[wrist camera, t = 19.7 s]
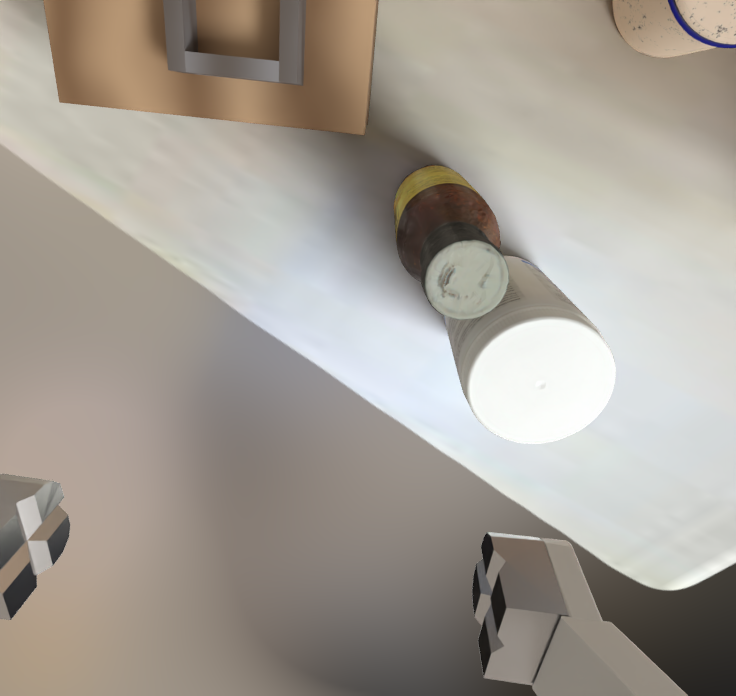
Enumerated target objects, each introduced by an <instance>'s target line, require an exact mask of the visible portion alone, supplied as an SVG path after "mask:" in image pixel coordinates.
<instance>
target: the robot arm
mask: <svg viewBox="0 0 736 696" xmlns="http://www.w3.org/2000/svg"><path fill="white" fill-rule="evenodd" d="M63 498H64V495H63V491H62V488H61V485H60V483H57V482H54V481H49V480H42V479H35V478H29V477H22V476H15V475H8V474H0V619H6V620H11V619H12V618H13V617H14V615H15V614H16V613H17V611H18V610H19V609H20V608H21V606H22V605H23V604H24V602H25V601H26V600H27V599H28V597H29V596H30V595H31V593H32V592H33V591H34V590H35V588H36V587H37V575H38V574H39V573H41V572H43V571H45V570H46V569H48V568H50V567H52V566H53V565H54V564H55V562H56V561H57V560H58V558H59V557H60V556H61V554H62V552H63V550H64V548H65V546H66V543H67V541H68V538H69V531H70V522H69V517H68V514H67V513H66V512H65V511H64V510H63V509H62V508H61V507H60V506H59V505H58V504H59V503H60V502H61V501H62V499H63ZM481 550H482V556H483V559H482V560H481V561H479V562H478V563H477V564H476V567H475V571H474V576H473V586H472V599H473V609H474V617H475V618H476V619H477V620H478V622H479V623H480V624H481V626H482V628H481V631H480V635H479V638H478V645H479V651H480V657H481V664H482V670H483V677H484V678H488V679H494V680H501V681H507V682H514V683H521V684H527V685H533V687H532V689H533V690H534V692H535V693H536V695H537V696H688V695H687V694H686V693H685V692H684V691H683V690H682V689H680V688H679V687H678V686H677V685H676V684H675V683H674V682H673V681H672V680H671V679H670V678H669V677H668V676H667V675H666V674H665V673H664V672H663V671H662V670H661V669H660V668H659V667H657V666H656V665H655V664H654V663H653V662H652V661H651V660H650V659H649V658H648V657H647V656H646V655H645V654H644V653H643V652H642V651H641V650H640V649H639V648H638V647H636V646H635V645H634V644H633V643H632V642H631V641H630V640H629V639H628V638H627V637H626V636H625V635H624V634H623V633H622V632H621V631H620V630H619V629H618V628H617V627H616V626H615V625H614V624H613V623H611V622H605V621H602V618H601V616H600V614H599V611H598V609H597V606H596V604H595V601H594V599H593V596H592V594H591V591H590V589H589V586H588V584H587V582H586V579H585V577H584V574H583V572H582V569H581V567H580V565H579V562H578V559H577V557H576V554H575V552H574V550H573V547H572V545H571V544H570V543H569V542H568V541H565V540H556V539H546V538H537V537H527V536H518V535H509V534H500V533H491V532H487V533H486V534H485V536H484V538H483V541H482V545H481Z"/></svg>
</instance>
